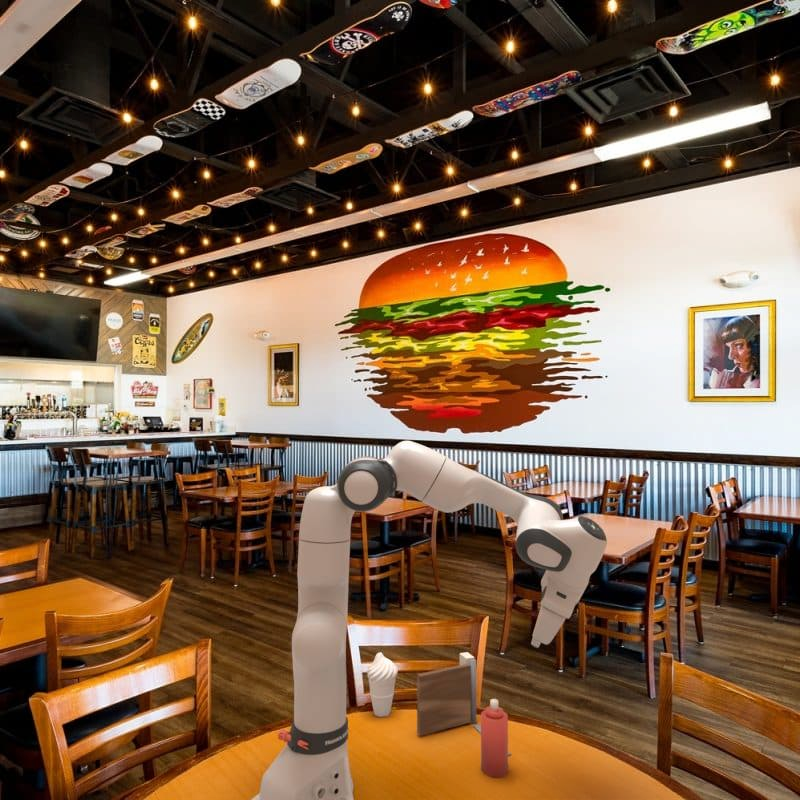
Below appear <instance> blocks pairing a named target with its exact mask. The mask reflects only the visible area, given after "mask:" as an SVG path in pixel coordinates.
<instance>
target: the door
mask: <svg viewBox="0 0 800 800" xmlns="http://www.w3.org/2000/svg"><path fill="white" fill-rule="evenodd" d="M470 722H471V666H470V665H469V664H463V665H460V664H459V665H454V666H450V667H444V668H440V669H436V670H432V671H425V672H422V673H417V674H416V733H417V735H419V736H420V737H421V736H424V735H427V734H428V735H429V734H432V733H435V732H439V731H443V730H447V729H450V728H454V727H458V726H461V725H465V724H469V723H470ZM470 724H471V723H470Z"/></svg>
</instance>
